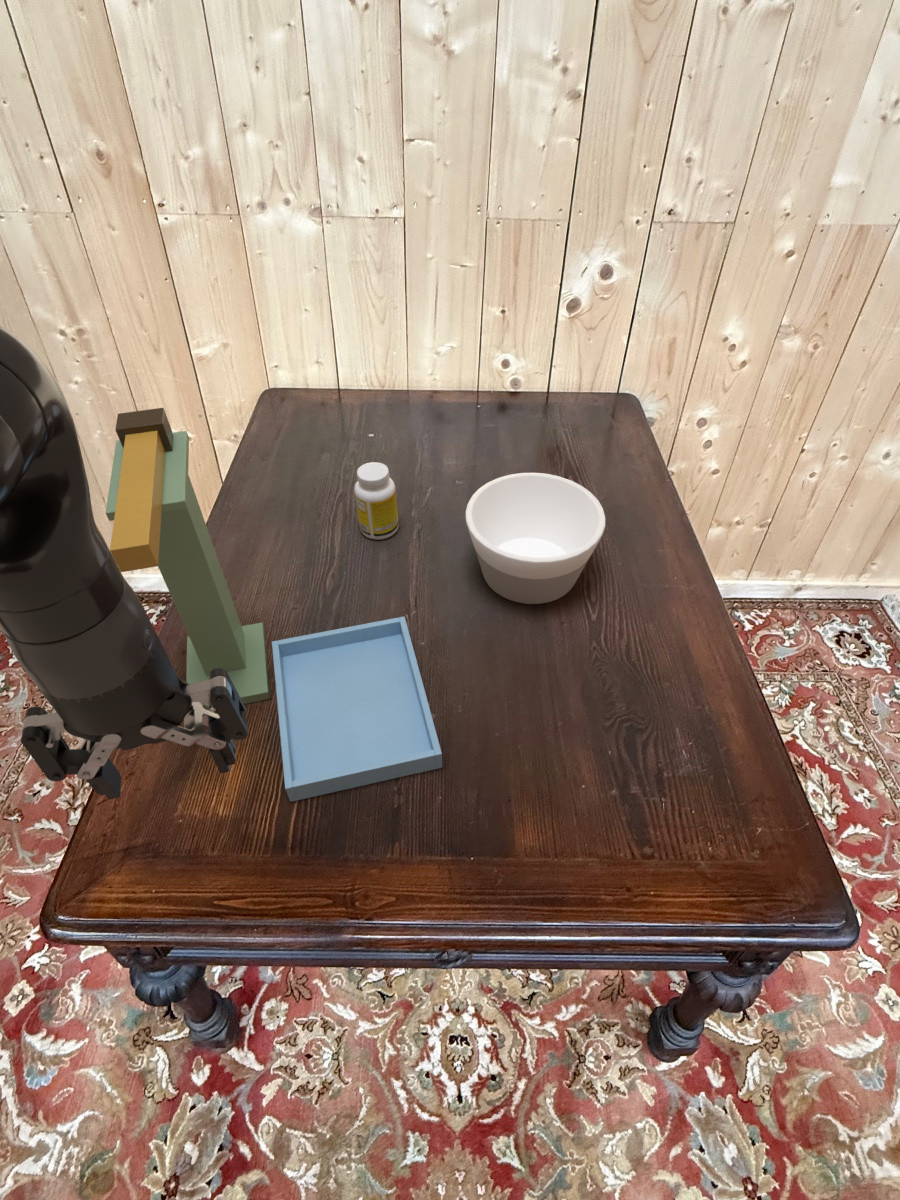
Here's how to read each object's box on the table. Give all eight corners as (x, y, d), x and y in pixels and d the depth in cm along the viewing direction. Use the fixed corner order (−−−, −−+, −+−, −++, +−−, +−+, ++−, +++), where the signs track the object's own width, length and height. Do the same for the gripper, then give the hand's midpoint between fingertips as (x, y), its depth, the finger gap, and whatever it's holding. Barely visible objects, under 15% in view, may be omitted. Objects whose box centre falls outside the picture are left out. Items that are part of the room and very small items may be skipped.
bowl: (568, 635, 94) (578, 580, 86) (442, 591, 100) (441, 535, 92) (611, 549, 106) (623, 493, 98) (496, 514, 112) (499, 458, 104)
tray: (290, 802, 78) (285, 788, 75) (276, 656, 92) (271, 641, 90) (442, 767, 80) (442, 753, 78) (405, 631, 95) (404, 616, 92)
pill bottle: (404, 519, 111) (399, 462, 103) (391, 544, 107) (386, 486, 99) (367, 512, 112) (360, 455, 104) (354, 537, 108) (345, 480, 100)
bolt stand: (189, 715, 86) (87, 515, 62) (190, 643, 94) (100, 442, 70) (270, 698, 87) (201, 498, 64) (264, 629, 95) (201, 428, 72)
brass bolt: (111, 574, 57) (97, 545, 55) (128, 441, 71) (117, 413, 68) (166, 564, 58) (154, 536, 56) (173, 434, 71) (163, 407, 69)
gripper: (206, 585, 47) (257, 717, 59) (-18, 627, 45) (82, 756, 57) (209, 669, 42) (264, 795, 54) (-43, 721, 40) (72, 841, 52)
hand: (171, 775), depth 56 cm, fingers open, 8 cm apart
